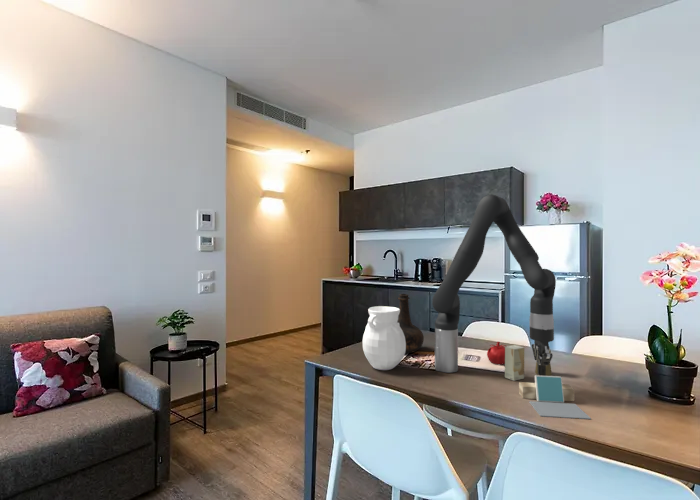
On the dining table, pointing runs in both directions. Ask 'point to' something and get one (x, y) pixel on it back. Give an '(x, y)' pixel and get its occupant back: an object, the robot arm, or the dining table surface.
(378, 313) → the pitcher
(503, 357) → the pomegranate
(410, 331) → the glass bottle
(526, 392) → the beech block
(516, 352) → the skincare box
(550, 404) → the mat
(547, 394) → the tile
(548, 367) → the olive pawn figure
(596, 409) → the dining table surface
